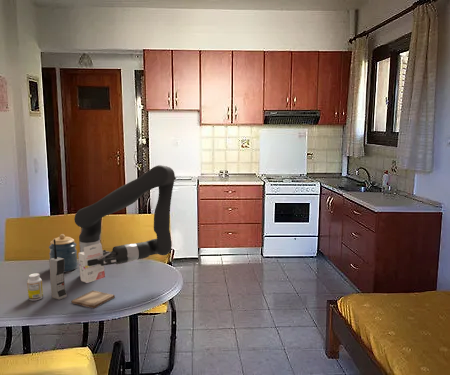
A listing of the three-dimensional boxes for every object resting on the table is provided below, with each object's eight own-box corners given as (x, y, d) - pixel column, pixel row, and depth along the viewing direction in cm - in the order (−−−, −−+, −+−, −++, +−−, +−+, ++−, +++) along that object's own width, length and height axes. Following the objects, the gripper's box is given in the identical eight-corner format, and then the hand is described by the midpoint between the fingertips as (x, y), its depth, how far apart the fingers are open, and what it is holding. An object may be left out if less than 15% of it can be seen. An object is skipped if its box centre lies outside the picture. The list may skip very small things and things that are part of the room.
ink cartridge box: (98, 274, 180) (96, 240, 178) (105, 277, 177) (102, 242, 175) (80, 280, 174) (77, 245, 172) (86, 283, 171) (83, 247, 168)
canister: (82, 265, 221) (80, 231, 219) (68, 273, 209) (66, 238, 206) (60, 263, 224) (58, 230, 222) (44, 271, 212) (42, 236, 209)
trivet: (71, 302, 174) (71, 300, 174) (92, 292, 185) (92, 290, 184) (94, 308, 169) (93, 305, 168) (114, 297, 179) (114, 294, 179)
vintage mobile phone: (59, 300, 177) (55, 241, 173) (51, 297, 179) (47, 239, 176) (66, 297, 180) (63, 239, 176) (59, 294, 183) (55, 237, 179)
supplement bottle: (36, 295, 182) (34, 271, 181) (46, 297, 180) (44, 273, 179) (25, 299, 177) (23, 276, 176) (35, 302, 175) (33, 277, 174)
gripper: (119, 241, 187) (79, 248, 178) (131, 248, 175) (90, 256, 166) (120, 258, 188) (81, 265, 179) (132, 266, 177) (91, 275, 167)
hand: (85, 261), depth 173 cm, fingers closed on ink cartridge box, 6 cm apart
